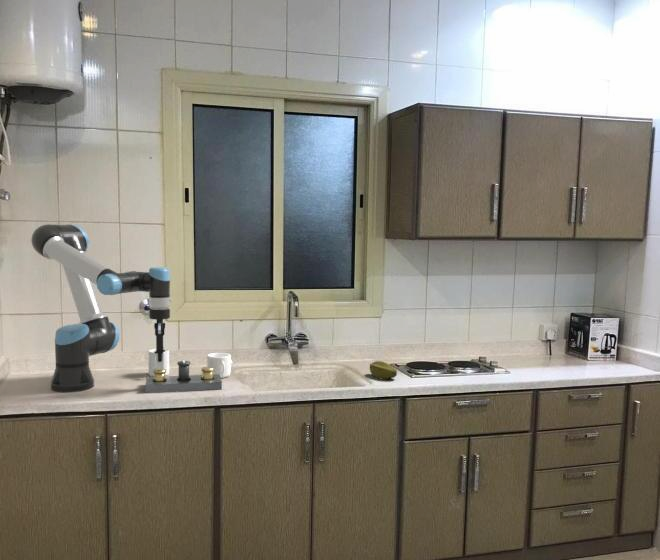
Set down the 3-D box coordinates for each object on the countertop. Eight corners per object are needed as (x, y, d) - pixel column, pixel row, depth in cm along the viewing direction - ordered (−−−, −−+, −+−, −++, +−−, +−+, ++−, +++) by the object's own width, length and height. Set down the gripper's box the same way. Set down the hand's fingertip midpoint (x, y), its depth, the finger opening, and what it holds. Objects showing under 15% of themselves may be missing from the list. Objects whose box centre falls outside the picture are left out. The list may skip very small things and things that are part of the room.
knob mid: (177, 381, 228) (177, 362, 227) (177, 378, 233) (177, 360, 232) (190, 380, 229) (190, 362, 229) (190, 377, 234) (190, 359, 233)
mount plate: (145, 392, 222) (145, 384, 221) (146, 384, 233) (146, 377, 233) (221, 389, 229) (221, 381, 229) (219, 381, 240) (219, 374, 240)
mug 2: (236, 379, 245) (237, 357, 245) (212, 381, 241) (212, 359, 240) (228, 372, 256) (228, 351, 255) (204, 374, 251) (204, 353, 251)
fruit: (369, 380, 248) (370, 364, 248) (369, 373, 260) (369, 358, 260) (397, 381, 248) (397, 365, 247) (395, 374, 260) (395, 359, 259)
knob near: (152, 389, 226) (152, 371, 225) (153, 386, 230) (153, 368, 230) (166, 388, 227) (166, 371, 226) (166, 385, 232) (166, 368, 231)
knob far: (201, 387, 230) (201, 369, 230) (200, 384, 235) (201, 367, 234) (214, 386, 232) (214, 369, 231) (213, 383, 236) (213, 366, 236)
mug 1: (165, 379, 242) (165, 354, 241) (144, 379, 241) (144, 354, 241) (170, 372, 254) (170, 348, 253) (150, 372, 253) (150, 348, 252)
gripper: (169, 310, 221) (170, 373, 223) (170, 305, 233) (170, 365, 235) (148, 310, 219) (149, 373, 221) (150, 306, 232) (150, 366, 233)
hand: (159, 369), depth 228 cm, fingers closed
